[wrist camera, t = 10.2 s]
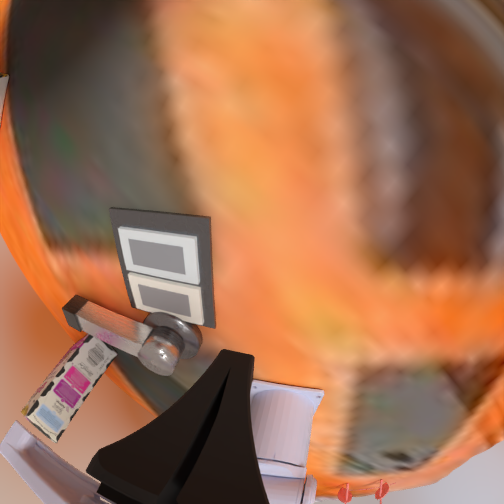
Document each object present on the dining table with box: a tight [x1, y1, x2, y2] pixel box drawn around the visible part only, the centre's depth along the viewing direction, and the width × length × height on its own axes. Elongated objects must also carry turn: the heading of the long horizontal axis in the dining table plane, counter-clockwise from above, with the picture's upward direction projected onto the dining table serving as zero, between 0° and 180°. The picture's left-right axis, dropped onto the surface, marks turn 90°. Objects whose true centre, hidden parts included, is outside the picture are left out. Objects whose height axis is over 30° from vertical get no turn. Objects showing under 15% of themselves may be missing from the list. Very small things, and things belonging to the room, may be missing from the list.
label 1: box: [118, 227, 200, 285], centre depth 21 cm, size 4×7×1 cm, turn 88°
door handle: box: [62, 295, 185, 376], centre depth 24 cm, size 14×4×3 cm, turn 82°
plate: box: [109, 207, 216, 329], centre depth 22 cm, size 10×9×1 cm
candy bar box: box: [21, 334, 117, 443], centre depth 26 cm, size 11×5×16 cm, turn 128°
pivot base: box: [143, 312, 202, 359], centre depth 25 cm, size 6×6×1 cm
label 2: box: [128, 272, 204, 325], centre depth 23 cm, size 4×7×1 cm, turn 88°
